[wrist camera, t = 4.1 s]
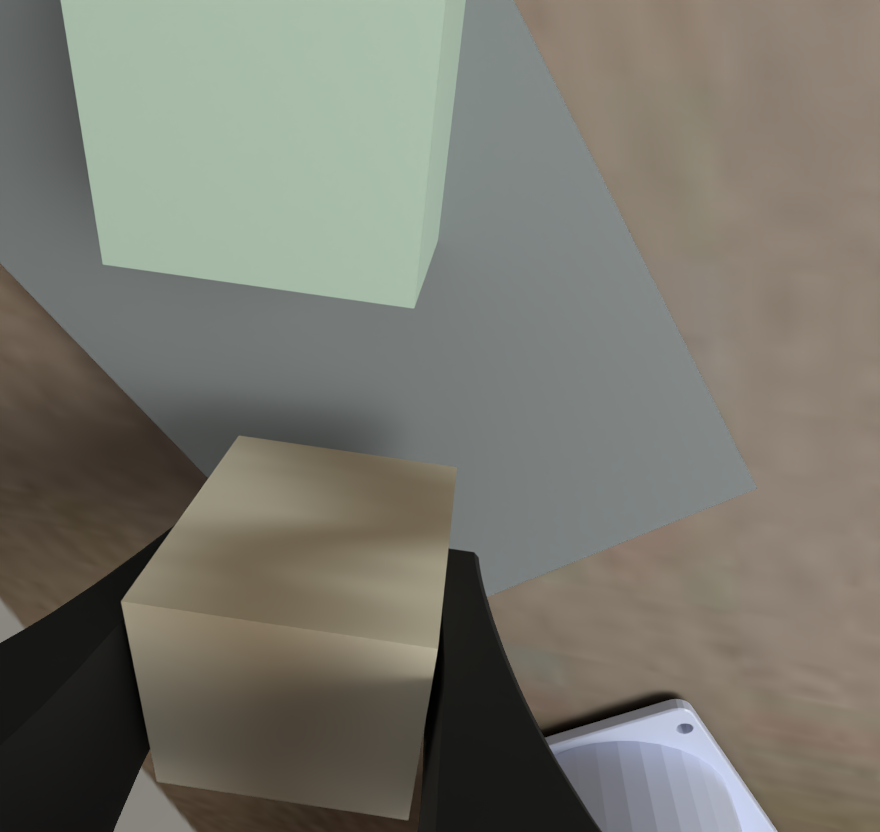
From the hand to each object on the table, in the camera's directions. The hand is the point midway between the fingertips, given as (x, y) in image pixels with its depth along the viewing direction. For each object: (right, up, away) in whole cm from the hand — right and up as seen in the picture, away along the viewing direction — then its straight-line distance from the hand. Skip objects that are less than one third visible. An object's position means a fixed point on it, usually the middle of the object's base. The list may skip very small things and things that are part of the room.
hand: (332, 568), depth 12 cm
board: (0, +6, +1) cm, 6 cm away
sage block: (0, +9, -1) cm, 9 cm away
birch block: (0, +1, +1) cm, 1 cm away
